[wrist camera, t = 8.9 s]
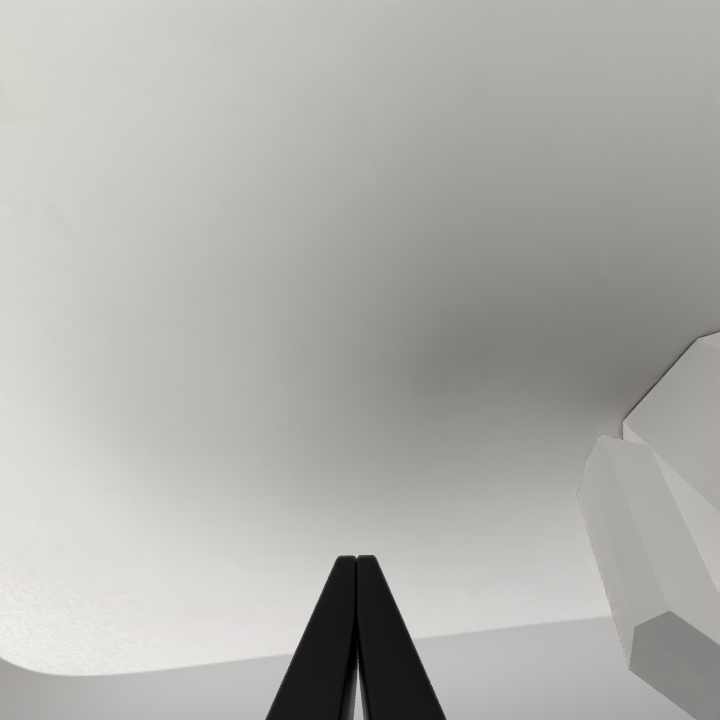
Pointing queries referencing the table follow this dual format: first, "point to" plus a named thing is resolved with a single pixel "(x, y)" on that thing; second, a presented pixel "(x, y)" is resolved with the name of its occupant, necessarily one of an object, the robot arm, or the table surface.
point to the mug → (665, 530)
